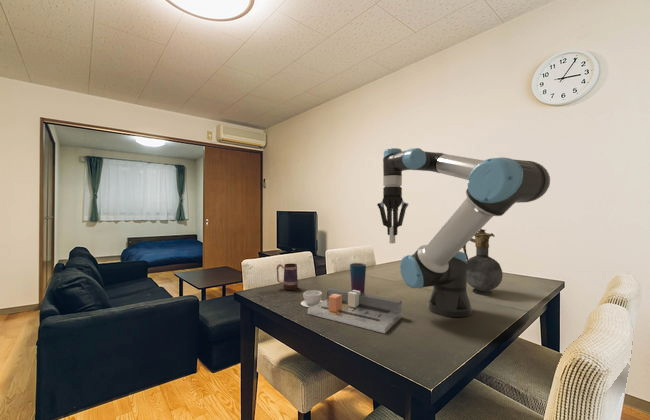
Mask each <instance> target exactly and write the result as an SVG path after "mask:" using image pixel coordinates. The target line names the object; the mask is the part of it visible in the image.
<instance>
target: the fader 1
mask: <svg viewBox="0 0 650 420" xmlns="http://www.w3.org/2000/svg"><path fill="white" fill-rule="evenodd" d="M340 309H342V295H339V294H332V295H331V296H329V311H333V312H337V311H339V310H340Z"/></svg>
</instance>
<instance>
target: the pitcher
mask: <svg viewBox="0 0 650 420" xmlns="http://www.w3.org/2000/svg"><path fill="white" fill-rule="evenodd" d="M486 231H487V229H483V228H481V229H480V230H479V231H478V232H477V233H476V234H475V235H474V236H473V237H474V238H473V237H472V238H471V239H470V240H469V241H468V242H471V243H475V245H474V246H475V248H476V249H475V250H476V251H475V253H476V254H475V255H474V256H472V257H470V258H469V257H468V253H467V243H466V244H465V245H464V247H463V248H462V250H463V251H462V252H463V253H465V254H466V260H467V284H468V285H469V286H470V287H472V293H474V294H478V295H480V296H481V295H482V296H490V295H492V293H493V292H492V291H491V290H494V289H496V288H498V287H499V285H500V284H501V282H502V281H503V270H502V267H501V265H500V263H499V262H498V261H497V260H496V259H494V258H493V257H491V256H489V248H490V243H489V242H490V238H491V237H493V238H494V237H496V236H495V235H494V233H492V232H491V233H487V232H486Z"/></svg>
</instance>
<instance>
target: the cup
mask: <svg viewBox="0 0 650 420" xmlns="http://www.w3.org/2000/svg"><path fill="white" fill-rule="evenodd" d="M349 267H350V268H349V271H350V287H351V288H350V289H351V290H350V291H352V290H357V291H360V293H363V294H365V290H366V289H365V286H366V270H367V264H366V263H364V262H363V263H362V262H352V263H349Z"/></svg>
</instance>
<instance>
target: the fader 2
mask: <svg viewBox="0 0 650 420" xmlns="http://www.w3.org/2000/svg"><path fill="white" fill-rule="evenodd" d="M349 291H350V292H348V306H350V307H357V306H358V305H359V295H360V291H357V290H349Z"/></svg>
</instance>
